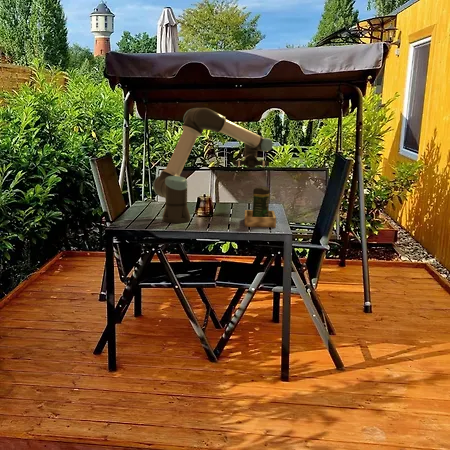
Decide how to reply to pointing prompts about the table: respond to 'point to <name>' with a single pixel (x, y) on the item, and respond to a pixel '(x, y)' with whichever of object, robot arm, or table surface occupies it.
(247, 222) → the pine crate
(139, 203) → the table surface
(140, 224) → the table surface
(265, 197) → the coffee jar
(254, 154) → the robot arm
